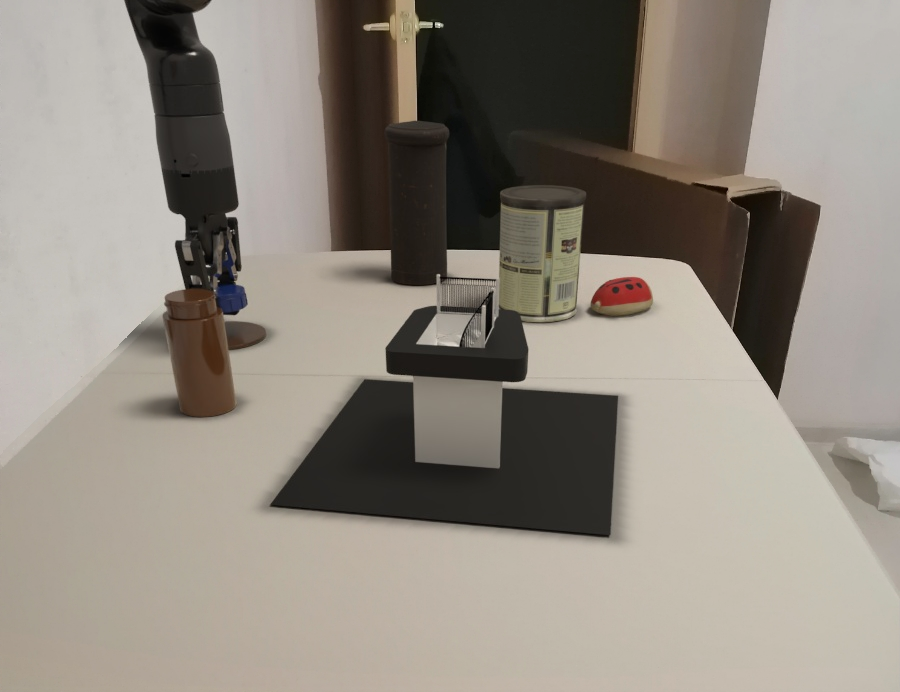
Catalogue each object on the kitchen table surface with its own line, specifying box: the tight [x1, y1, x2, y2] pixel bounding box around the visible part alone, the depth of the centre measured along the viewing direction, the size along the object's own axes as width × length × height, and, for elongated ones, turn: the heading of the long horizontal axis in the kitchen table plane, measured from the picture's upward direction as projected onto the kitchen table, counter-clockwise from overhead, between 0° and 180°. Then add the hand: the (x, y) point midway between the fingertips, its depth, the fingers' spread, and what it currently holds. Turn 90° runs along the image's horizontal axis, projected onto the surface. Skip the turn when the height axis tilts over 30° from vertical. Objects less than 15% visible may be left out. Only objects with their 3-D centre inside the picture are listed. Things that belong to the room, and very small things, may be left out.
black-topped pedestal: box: [270, 274, 619, 536], centre depth 71 cm, size 28×26×13 cm
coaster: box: [224, 320, 267, 351], centre depth 100 cm, size 10×10×1 cm
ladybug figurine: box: [589, 276, 654, 316], centre depth 109 cm, size 7×10×4 cm
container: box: [384, 120, 450, 286], centre depth 117 cm, size 9×9×20 cm
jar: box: [161, 288, 238, 418], centre depth 80 cm, size 5×5×11 cm
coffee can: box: [498, 184, 587, 323], centre depth 105 cm, size 10×10×14 cm
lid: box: [217, 284, 249, 313], centre depth 98 cm, size 6×6×2 cm
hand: (221, 321), depth 99 cm, fingers closed on lid, 5 cm apart
